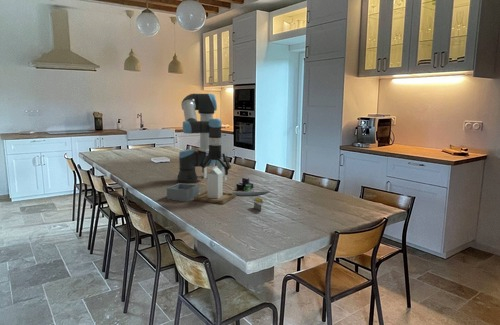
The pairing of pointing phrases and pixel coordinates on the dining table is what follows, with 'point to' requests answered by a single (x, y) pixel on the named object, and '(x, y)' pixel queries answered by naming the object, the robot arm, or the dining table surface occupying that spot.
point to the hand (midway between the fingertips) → (215, 179)
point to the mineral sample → (247, 188)
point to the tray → (221, 200)
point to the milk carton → (215, 183)
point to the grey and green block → (258, 203)
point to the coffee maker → (220, 165)
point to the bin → (182, 192)
